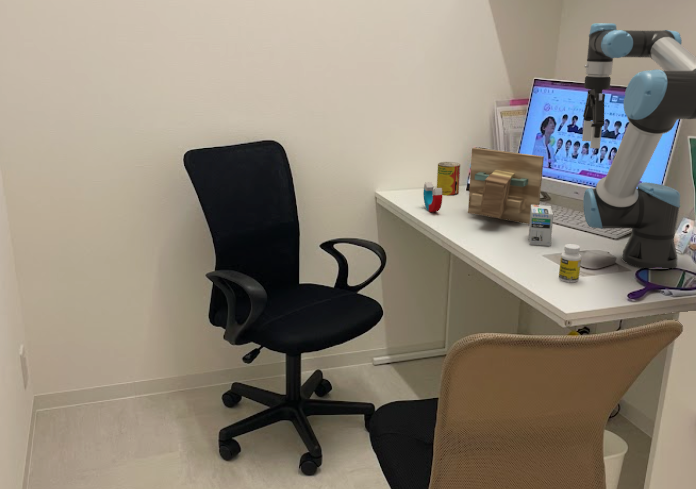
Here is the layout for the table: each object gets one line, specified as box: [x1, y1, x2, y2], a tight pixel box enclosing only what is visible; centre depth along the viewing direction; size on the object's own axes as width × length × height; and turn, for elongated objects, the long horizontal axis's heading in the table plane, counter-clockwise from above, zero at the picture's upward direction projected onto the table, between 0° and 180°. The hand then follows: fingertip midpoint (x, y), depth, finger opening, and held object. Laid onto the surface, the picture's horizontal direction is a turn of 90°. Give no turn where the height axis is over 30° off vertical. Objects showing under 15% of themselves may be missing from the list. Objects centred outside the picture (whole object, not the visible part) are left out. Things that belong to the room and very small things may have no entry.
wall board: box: [467, 147, 545, 225], centre depth 247 cm, size 11×26×24 cm, turn 54°
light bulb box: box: [528, 204, 554, 247], centre depth 226 cm, size 11×7×11 cm, turn 168°
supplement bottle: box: [558, 243, 582, 283], centre depth 194 cm, size 5×5×10 cm
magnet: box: [423, 181, 443, 213], centre depth 259 cm, size 12×3×10 cm, turn 16°
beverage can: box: [436, 161, 461, 197], centre depth 285 cm, size 9×9×12 cm
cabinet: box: [480, 170, 514, 219], centre depth 240 cm, size 16×7×12 cm, turn 157°
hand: (590, 144), depth 222 cm, fingers open, 13 cm apart
